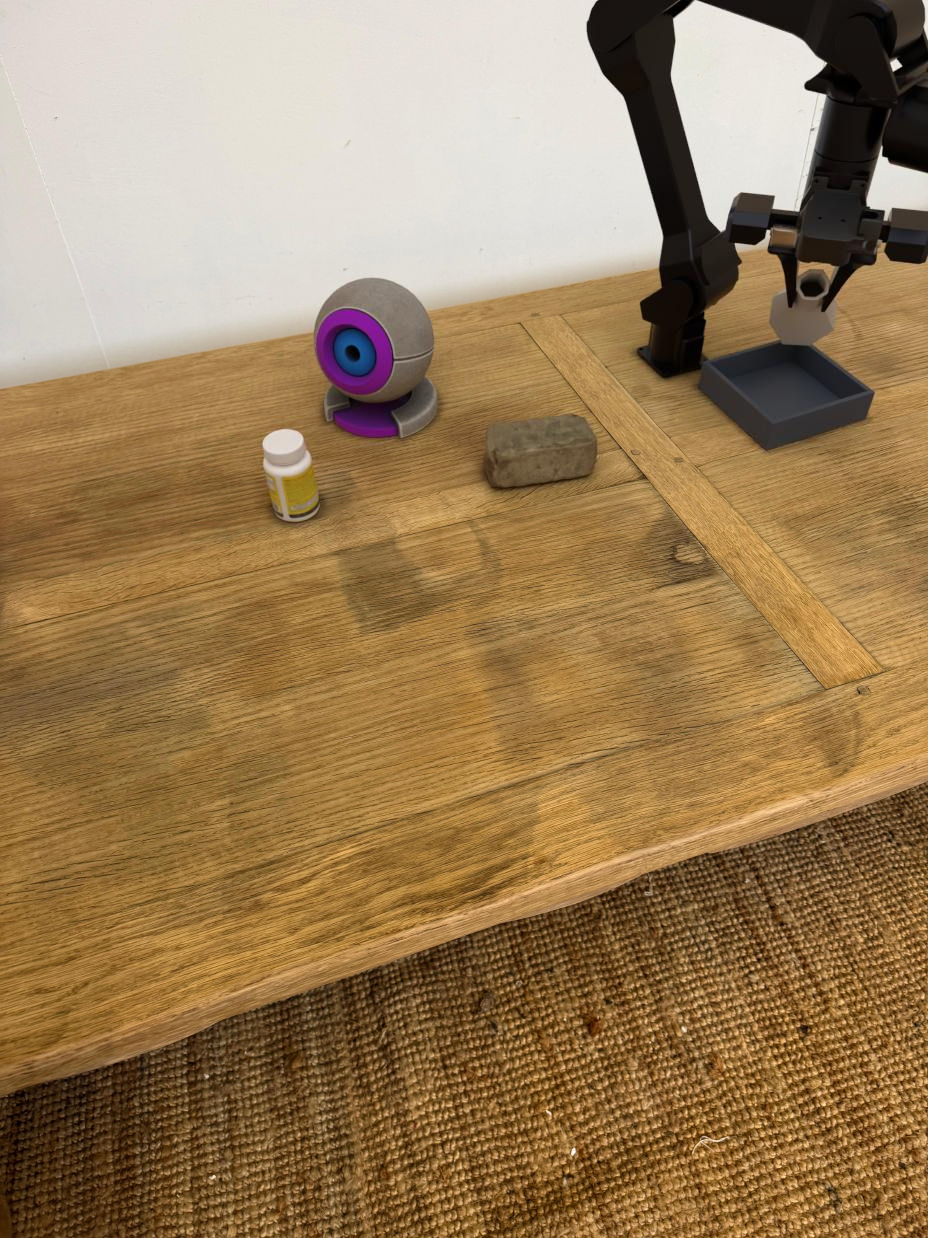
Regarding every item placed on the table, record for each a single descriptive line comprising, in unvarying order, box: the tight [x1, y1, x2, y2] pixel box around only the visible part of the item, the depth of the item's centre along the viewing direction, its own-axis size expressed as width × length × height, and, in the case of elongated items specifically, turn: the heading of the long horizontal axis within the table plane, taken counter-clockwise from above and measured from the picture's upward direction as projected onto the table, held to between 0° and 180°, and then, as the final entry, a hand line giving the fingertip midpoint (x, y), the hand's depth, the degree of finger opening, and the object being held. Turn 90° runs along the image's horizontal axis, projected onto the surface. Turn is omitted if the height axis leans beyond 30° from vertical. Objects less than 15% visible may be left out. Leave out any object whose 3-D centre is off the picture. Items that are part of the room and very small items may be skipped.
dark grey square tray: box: [697, 339, 876, 452], centre depth 105 cm, size 13×13×4 cm
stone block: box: [482, 413, 598, 488], centre depth 97 cm, size 6×12×5 cm, turn 102°
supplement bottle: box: [262, 428, 321, 523], centre depth 93 cm, size 5×5×8 cm
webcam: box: [313, 277, 439, 439], centre depth 102 cm, size 13×13×15 cm
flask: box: [768, 268, 838, 346], centre depth 98 cm, size 7×7×10 cm
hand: (806, 308), depth 97 cm, fingers closed on flask, 3 cm apart
